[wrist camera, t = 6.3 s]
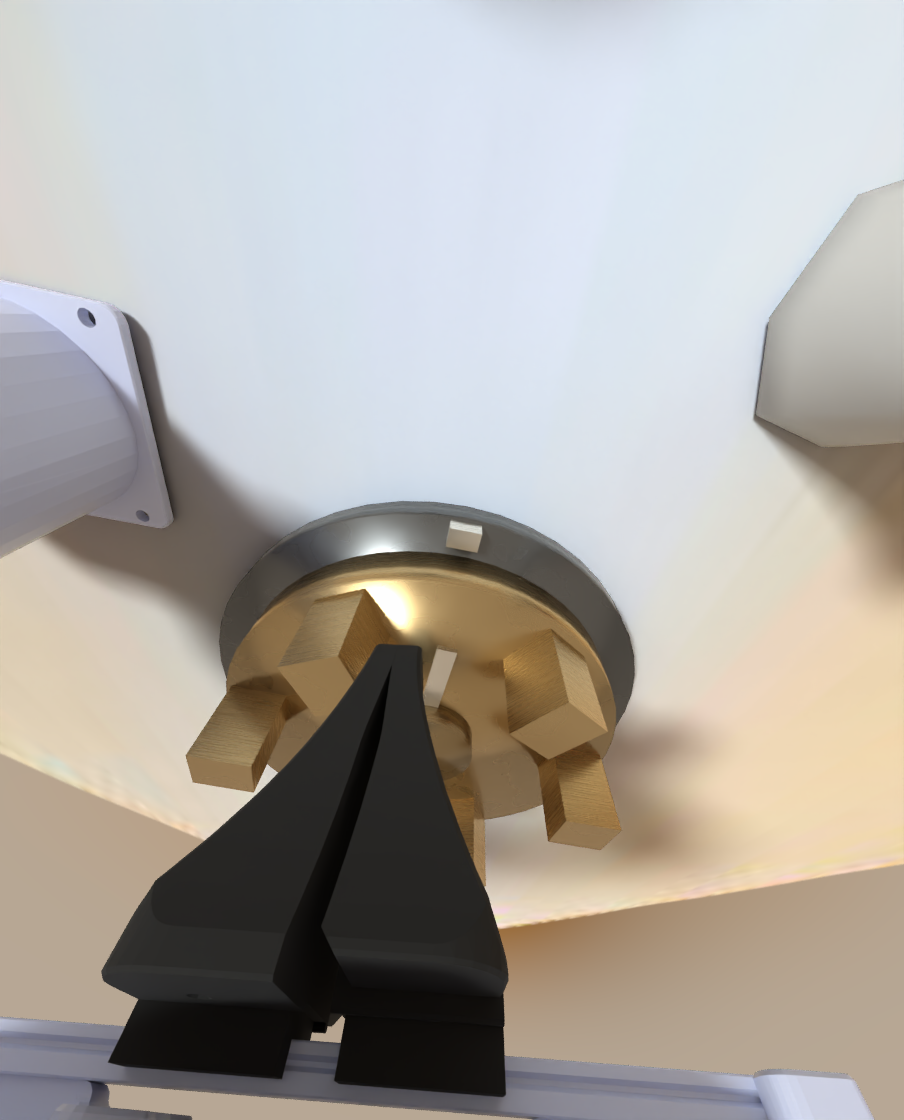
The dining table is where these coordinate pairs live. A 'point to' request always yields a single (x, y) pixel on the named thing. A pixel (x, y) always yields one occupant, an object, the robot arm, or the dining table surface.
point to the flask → (843, 333)
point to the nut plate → (440, 534)
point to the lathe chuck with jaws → (432, 688)
